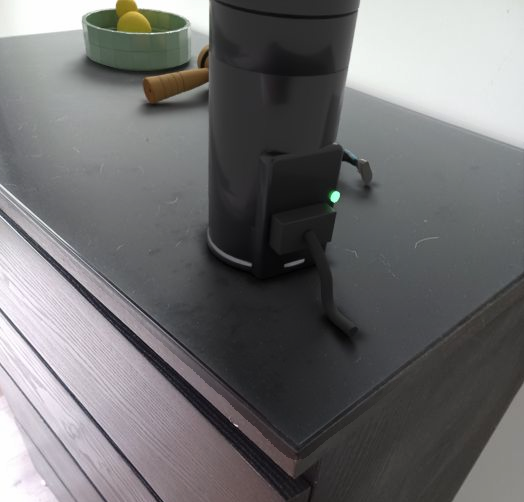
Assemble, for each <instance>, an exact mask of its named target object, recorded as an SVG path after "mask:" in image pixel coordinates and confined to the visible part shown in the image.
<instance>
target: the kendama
mask: <svg viewBox="0 0 524 502" xmlns="http://www.w3.org/2000/svg"><path fill="white" fill-rule="evenodd" d="M196 66H197V68H194V69H192V68H191V69H186V70H181V71H176V72H171V73H165V74H160V75H153V76H146V77H144V78H143V79H142V88H143V93H144V95H145V98H146V100H147V101H148V102H149V103H150V104H151V105H154V104H158V103H160V102H162V101H163V100H166V99H170V98H172V97H176V96H178V95H180V94H183V93H186V92H189V91H192V90H194V89H196V88H199V87H201V86H203V85H206V84H208V83H209V44H207V45H205V46H204V47H203V48H202V49H201V50H200V52H199V54H198V55H197V60H196Z"/></svg>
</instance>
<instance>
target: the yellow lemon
mask: <svg viewBox="0 0 524 502" xmlns="http://www.w3.org/2000/svg"><path fill="white" fill-rule="evenodd" d="M115 8H116V12H117V15H118V16H119V18H120V19H119V21H118V24H117V31H121V32H130V33H152V32H151V27H150V24H149V22H148V20H147V19H146V18H145V17H144V16H143V15H142V14H140V13H138V8H139V7H138V5H137V2H136V1H135V0H116V3H115Z"/></svg>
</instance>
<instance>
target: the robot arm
mask: <svg viewBox="0 0 524 502" xmlns="http://www.w3.org/2000/svg"><path fill="white" fill-rule="evenodd" d="M208 3H209V4H208V45H209V82H208V150H207V151H208V162H207V163H208V165H207V166H208V168H207V169H208V173H207V174H208V175H207V178H208V181H207V183H208V185H207V187H208V188H207V189H208V191H207V192H208V193H207V196H208V197H207V199H208V224H207V228H206V243H207V246H208V248H209V250H210V251H211V253H212V254H213V255H214V256H215V257H216V258H217V259H219V260H220V261H221V262H223V263H225V264H226V265H228V266H231V267H234V268H235V269H238V270H242V271H246V272H249V273H251V274H253V275H254V276H255V277H256V279H258V280H264V279H268V278H272V277H276V276H278V275H282V274H285V273H286V274H287V273H289V272H293V271H296V270H297V271H298V270H300V269H304V268H306V267H310V266H313V265H315V266H316V270H317V272H318V276H319V281H320V299H321V305H322V308H323V311H324V312H325V314H326V316H327V318H328V320H330V321H331V322H332V323H333V324H334V326H335V327H337V328H338V329H340V330H341V331H342V332H343V333H345V334H346V335H347V336H348V337H354V336H356V334H357V333H358V331H359V327H357V326H356V325H355V324H354V323H353V322H352V321H351V320H350V319H348V318H347V317H345V316H344V315H343V314H342V313H341V312H340V311H339V309H338V308H337V306H336V303H335V300H334V281H333V273H332V270H331V266H330V264H329V261H328V258H327V255H326V251H327V246H328V244H329V243H331V242H332V239H333V233H334V229H335V223H336V218H337V210H336V209H335V208H334V207H335V203H336V202H337V201H338V200H339V199H340V196H341V195H340V192H339V191H337V190H338V185H339V180H340V174H341V168H342V162H343V161H342V158H343V152H344V149H343V148H344V146H343V145H342V144H341V143H339V142H337V138H338V132H339V126H340V122H341V115H342V108H343V104H344V97H345V92H346V87H347V86H346V85H347V79H348V74H349V73H348V72H349V67H350V62H351V57H352V50H353V45H354V39H355V34H356V27H357V22H358V15H359V9H360V7H361V6H360V5H361V0H208Z"/></svg>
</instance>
